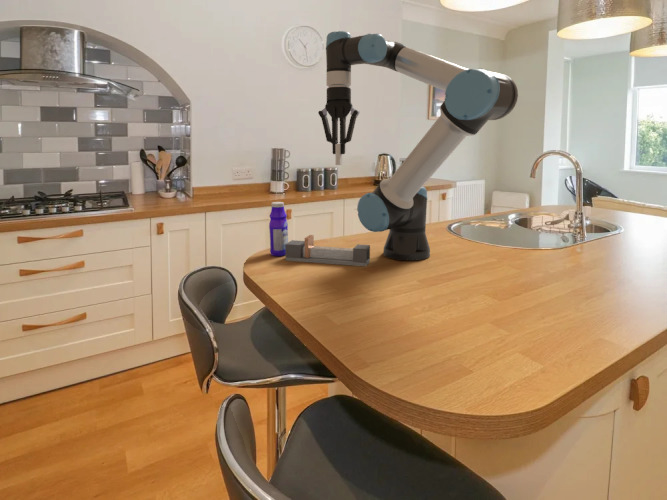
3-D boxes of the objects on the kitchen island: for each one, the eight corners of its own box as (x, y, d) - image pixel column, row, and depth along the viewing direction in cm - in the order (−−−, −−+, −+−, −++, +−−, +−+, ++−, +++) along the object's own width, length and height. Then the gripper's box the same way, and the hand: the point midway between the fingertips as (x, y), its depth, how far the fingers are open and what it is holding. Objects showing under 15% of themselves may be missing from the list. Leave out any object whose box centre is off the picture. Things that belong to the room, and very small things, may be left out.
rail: (369, 261, 148) (370, 245, 147) (365, 266, 143) (365, 249, 141) (292, 255, 155) (292, 240, 154) (285, 260, 150) (285, 244, 148)
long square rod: (364, 257, 148) (365, 238, 146) (361, 261, 143) (361, 241, 142) (301, 253, 154) (301, 234, 152) (296, 257, 149) (295, 237, 147)
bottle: (284, 257, 153) (282, 204, 149) (267, 256, 155) (265, 203, 150) (290, 252, 160) (289, 201, 156) (274, 251, 162) (273, 200, 157)
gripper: (362, 87, 147) (361, 164, 153) (322, 88, 150) (322, 163, 156) (356, 85, 140) (356, 165, 146) (314, 86, 143) (315, 165, 149)
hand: (338, 164), depth 151 cm, fingers closed
